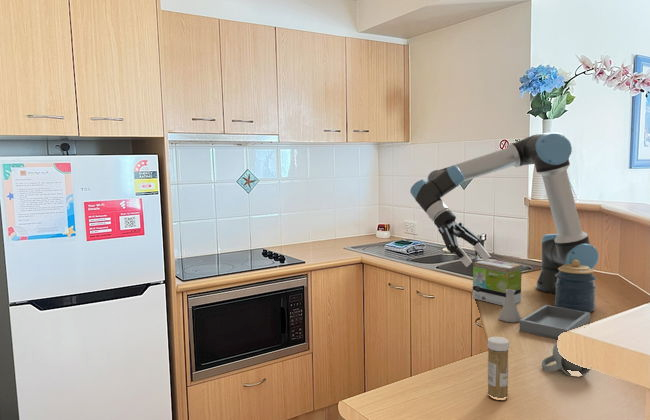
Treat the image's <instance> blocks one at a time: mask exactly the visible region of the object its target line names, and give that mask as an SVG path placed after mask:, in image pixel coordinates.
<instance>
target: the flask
mask: <svg viewBox="0 0 650 420" xmlns="http://www.w3.org/2000/svg"><path fill="white" fill-rule="evenodd" d="M505 292H506V299H505V303H504V306H502V309H501V311H500V313H499V317H498V320H500V321H502V322H507V323H515V324H516V323H518V322H519V323H520V320H521V319H522V318H521V315H520V312H519V309H518V307H517V303H515V298H514V293H515V290H509V289H508V290H505Z"/></svg>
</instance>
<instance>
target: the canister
mask: <svg viewBox="0 0 650 420" xmlns="http://www.w3.org/2000/svg"><path fill="white" fill-rule="evenodd" d="M558 270H559V272H558V273H556V274H555V276H556V277H557V282H556V283H555V285H556V291H555V293H554V294H555V296H554V297H555V299H554V304H555V305H554V306H556V307H561V308H567V309H573V310H578V311H584V312H589V313H590V314H591V313H592V312H594V311H595V308H596V287H597V286H596V285H595V280H596V279H597V276H596V275H594V274H593V273H594V269H590V268H589V267H588V266H585V265H580V262H579V261H578V260H573V261H572V264H565V265H562V266H561V267H559V268H558Z"/></svg>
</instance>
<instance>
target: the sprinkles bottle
mask: <svg viewBox="0 0 650 420" xmlns="http://www.w3.org/2000/svg"><path fill="white" fill-rule="evenodd" d="M509 350H510V341H509V339H507V338H505V337H502V336H491V337H488V339H487V352H488V353H487V393H488V394H489V395H491V396H493V397H497V398H504V397H507V396H508V397H509V393H508V391H509V390H508V389H509V386H508V385H509Z"/></svg>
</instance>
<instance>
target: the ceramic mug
mask: <svg viewBox="0 0 650 420" xmlns="http://www.w3.org/2000/svg"><path fill="white" fill-rule="evenodd" d="M553 362H556V363H555V364H551V363H553ZM550 364H551V365H550ZM541 366H542V368H543V370H544V371H545V370H546V371H545V372H551V373H552V372H556V371H560V370H561V371H562V372H563V373H564V374H565V375H567V376H569V375H571V374H570V373H569V372H568V371H567V370H571V371H579V372H580V373H581V374H582V375H584V376H586V375H587V374H588V373H590V371H591V369H592V368H591V369H587V368H583V367H580V366H578V365H575V364H573V363H571V362H569V361H567V360H566V359H564V358H563V357H562V356H561V355H560V354H559V352H558V348H557V342H556V343H555V344H554V345H553V348H552V355H550V356H548V357H545V358H544V359H543V360H542V361H541Z"/></svg>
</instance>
